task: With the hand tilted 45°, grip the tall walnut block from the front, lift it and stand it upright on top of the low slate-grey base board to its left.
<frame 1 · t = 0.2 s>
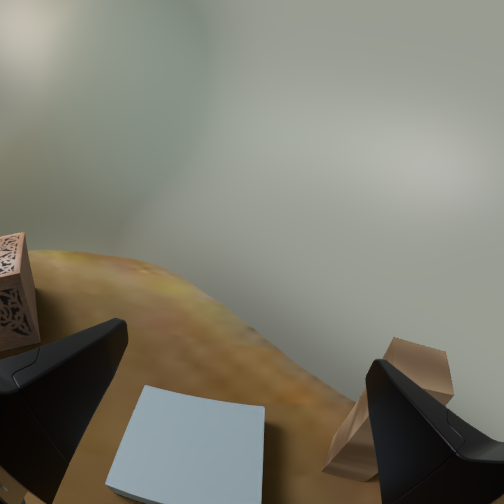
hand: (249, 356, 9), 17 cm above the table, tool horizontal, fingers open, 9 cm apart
walnut block: (349, 458, 19), on the table
slate base: (192, 459, 18), on the table
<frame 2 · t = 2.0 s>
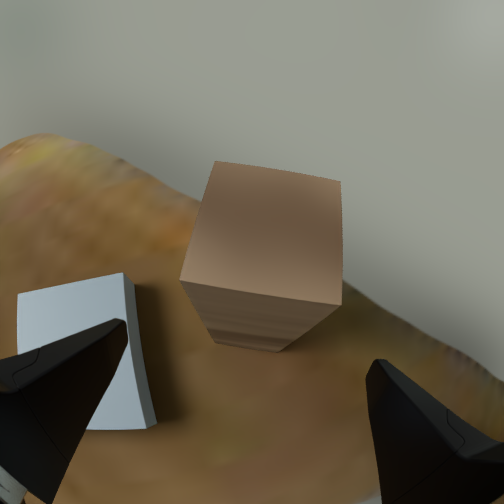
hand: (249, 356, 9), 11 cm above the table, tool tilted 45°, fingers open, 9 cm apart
walnut block: (250, 318, 20), on the table
slate base: (82, 359, 17), on the table
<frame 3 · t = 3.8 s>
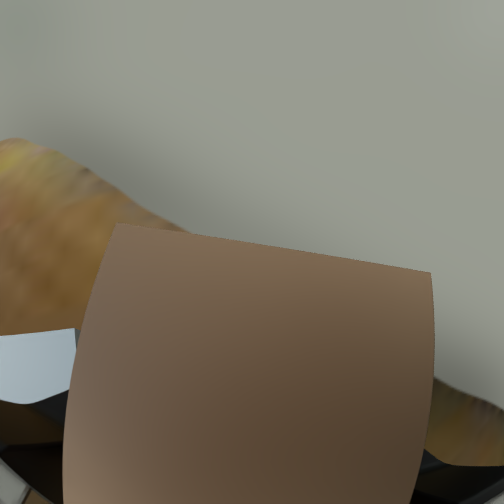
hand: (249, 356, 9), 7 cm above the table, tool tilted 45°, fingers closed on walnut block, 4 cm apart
walnut block: (240, 387, 14), on the table, touching gripper
slate base: (44, 418, 12), on the table
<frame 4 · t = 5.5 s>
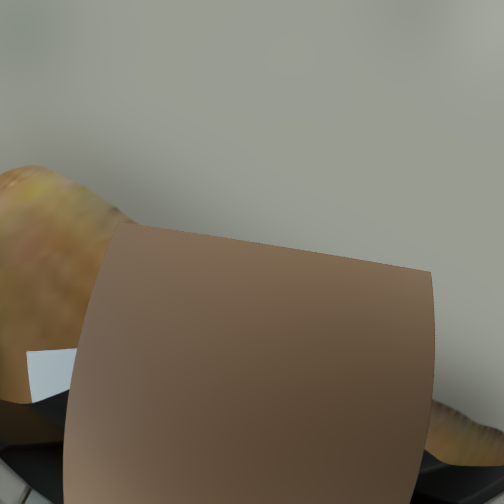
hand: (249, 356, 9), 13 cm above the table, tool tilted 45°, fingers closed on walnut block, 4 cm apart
walnut block: (240, 387, 14), point 7 cm above the table, touching gripper
slate base: (92, 411, 18), on the table
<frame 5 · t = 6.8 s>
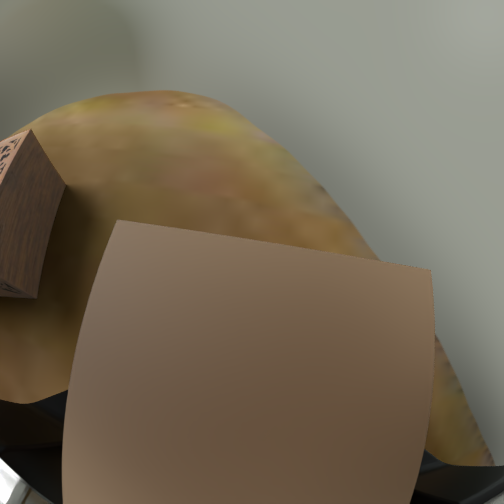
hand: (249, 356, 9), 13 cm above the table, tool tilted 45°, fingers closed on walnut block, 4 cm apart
walnut block: (240, 387, 14), point 6 cm above the table, touching gripper
when the fingers open (10 cm above the table, at t = 7.5 s): walnut block drops 1 cm, resting on slate base.
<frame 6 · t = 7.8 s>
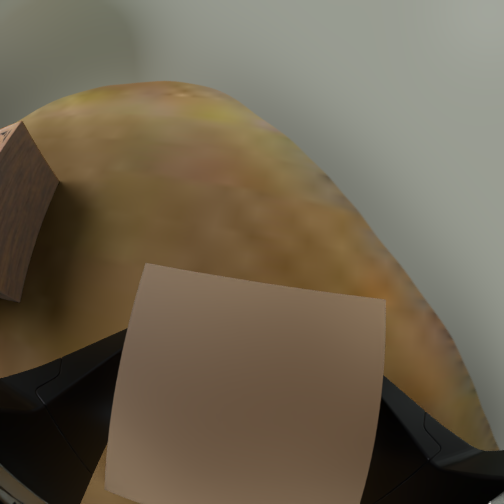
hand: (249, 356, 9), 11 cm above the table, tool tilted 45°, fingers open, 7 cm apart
walnut block: (240, 386, 15), point 3 cm above the table, touching slate base
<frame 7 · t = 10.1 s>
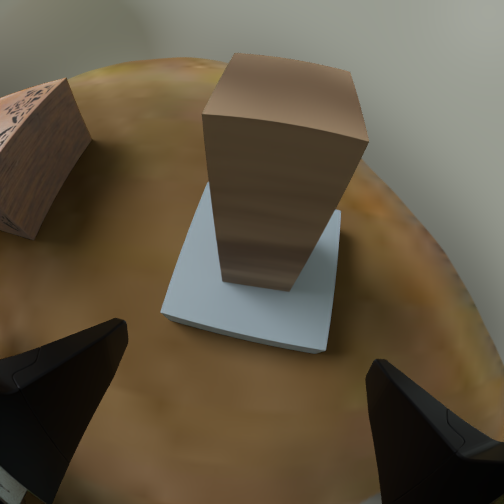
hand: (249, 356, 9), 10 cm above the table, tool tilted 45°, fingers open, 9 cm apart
walnut block: (260, 256, 19), point 2 cm above the table, touching slate base
slate base: (257, 270, 21), on the table
tissue box cover: (9, 181, 25), on the table
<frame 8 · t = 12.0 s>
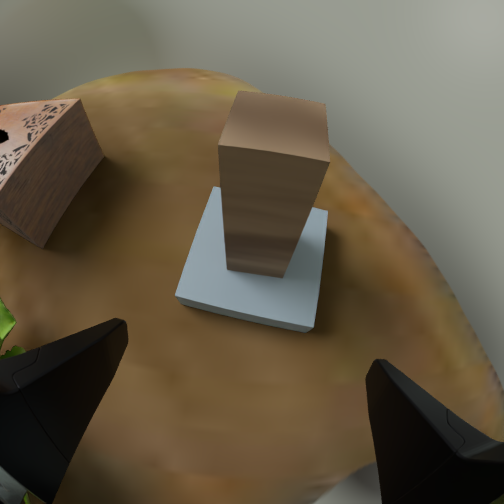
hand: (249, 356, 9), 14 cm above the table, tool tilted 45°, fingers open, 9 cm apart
potted flower: (2, 427, 15), on the table
walnut block: (258, 249, 23), point 2 cm above the table, touching slate base
slate base: (256, 261, 25), on the table
tissue box cover: (25, 183, 29), on the table
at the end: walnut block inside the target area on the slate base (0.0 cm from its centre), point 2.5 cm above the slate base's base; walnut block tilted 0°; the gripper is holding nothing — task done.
